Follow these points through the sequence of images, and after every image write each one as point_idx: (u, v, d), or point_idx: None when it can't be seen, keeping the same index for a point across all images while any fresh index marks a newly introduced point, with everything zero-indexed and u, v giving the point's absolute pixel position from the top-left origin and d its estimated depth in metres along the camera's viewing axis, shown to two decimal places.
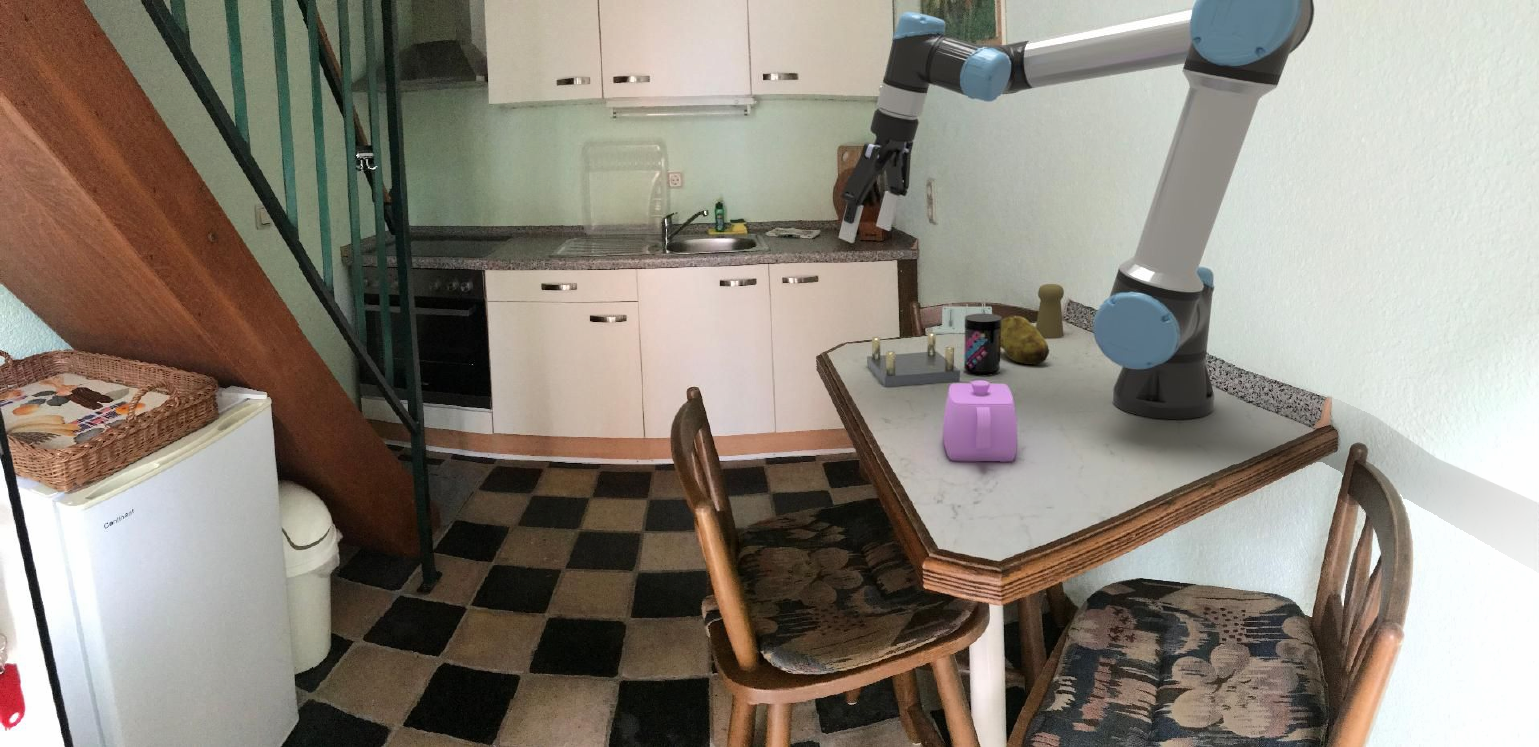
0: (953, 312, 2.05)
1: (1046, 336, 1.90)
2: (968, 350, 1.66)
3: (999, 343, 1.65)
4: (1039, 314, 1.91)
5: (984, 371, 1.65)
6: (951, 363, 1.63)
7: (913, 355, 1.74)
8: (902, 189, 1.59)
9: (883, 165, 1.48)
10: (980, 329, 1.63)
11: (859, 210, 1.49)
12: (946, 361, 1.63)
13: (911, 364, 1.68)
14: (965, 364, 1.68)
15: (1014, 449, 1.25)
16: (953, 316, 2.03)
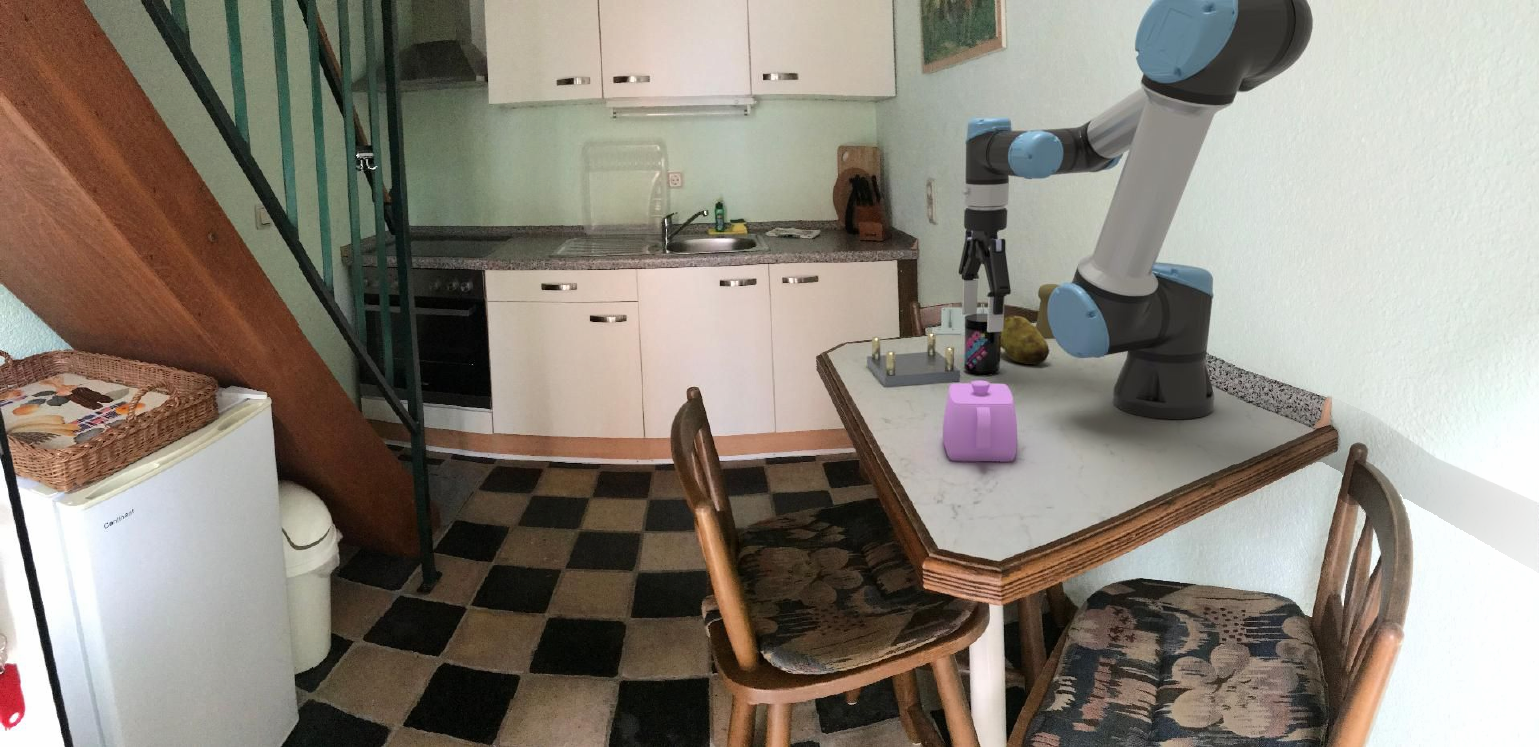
0: (952, 313, 2.04)
1: (1046, 336, 1.90)
2: (968, 350, 1.66)
3: (999, 343, 1.65)
4: (1039, 314, 1.91)
5: (984, 371, 1.65)
6: (951, 363, 1.63)
7: (913, 355, 1.74)
8: None
9: None
10: (980, 329, 1.63)
11: (1003, 299, 1.58)
12: (946, 361, 1.63)
13: (911, 364, 1.68)
14: (965, 364, 1.68)
15: (1014, 449, 1.25)
16: (952, 317, 2.02)
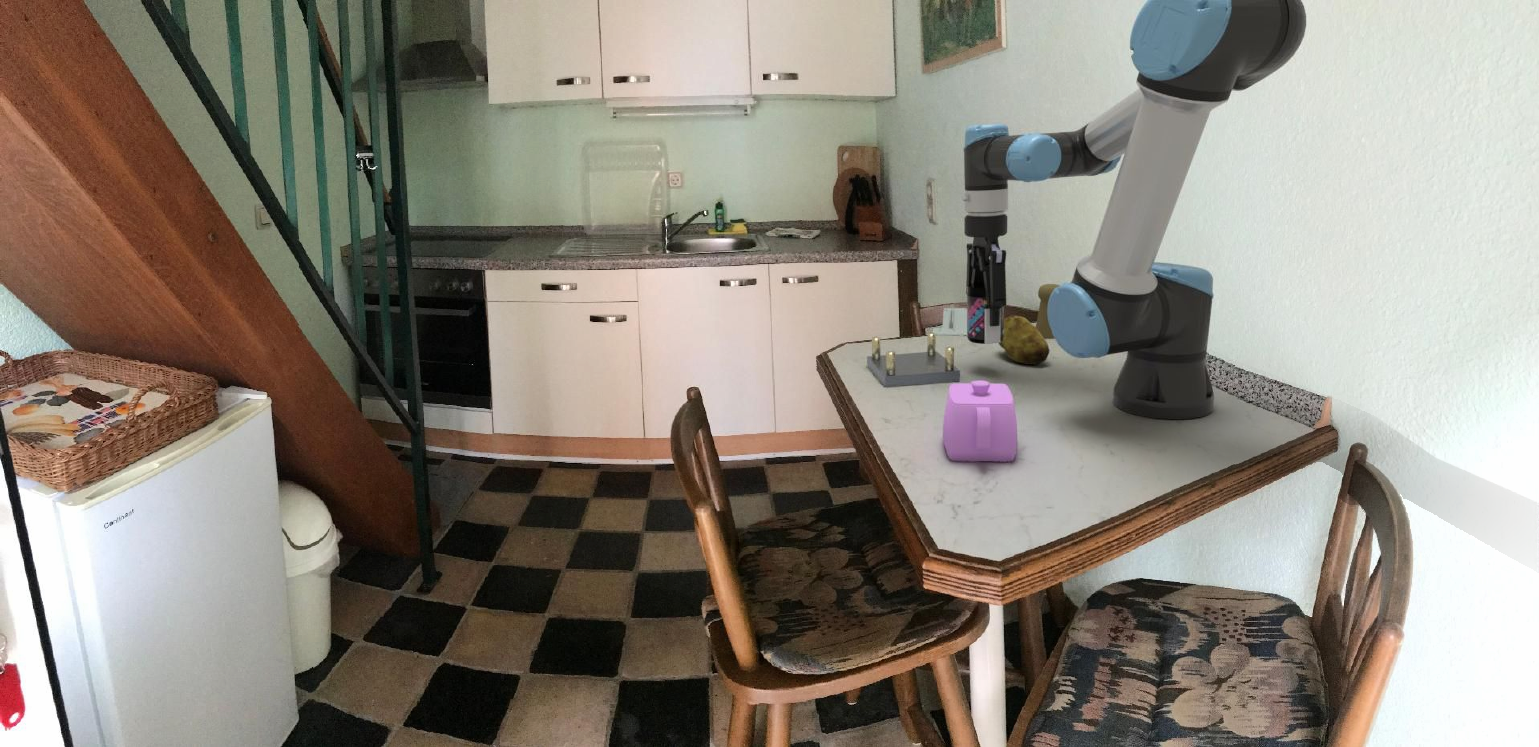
0: (954, 314, 2.03)
1: (1046, 336, 1.90)
2: (971, 318, 1.64)
3: (1002, 310, 1.63)
4: (1039, 314, 1.91)
5: None
6: (951, 363, 1.63)
7: (913, 355, 1.74)
8: None
9: None
10: (983, 296, 1.61)
11: (999, 311, 1.61)
12: (946, 361, 1.63)
13: (911, 364, 1.68)
14: (968, 333, 1.65)
15: (1014, 449, 1.25)
16: (954, 318, 2.02)
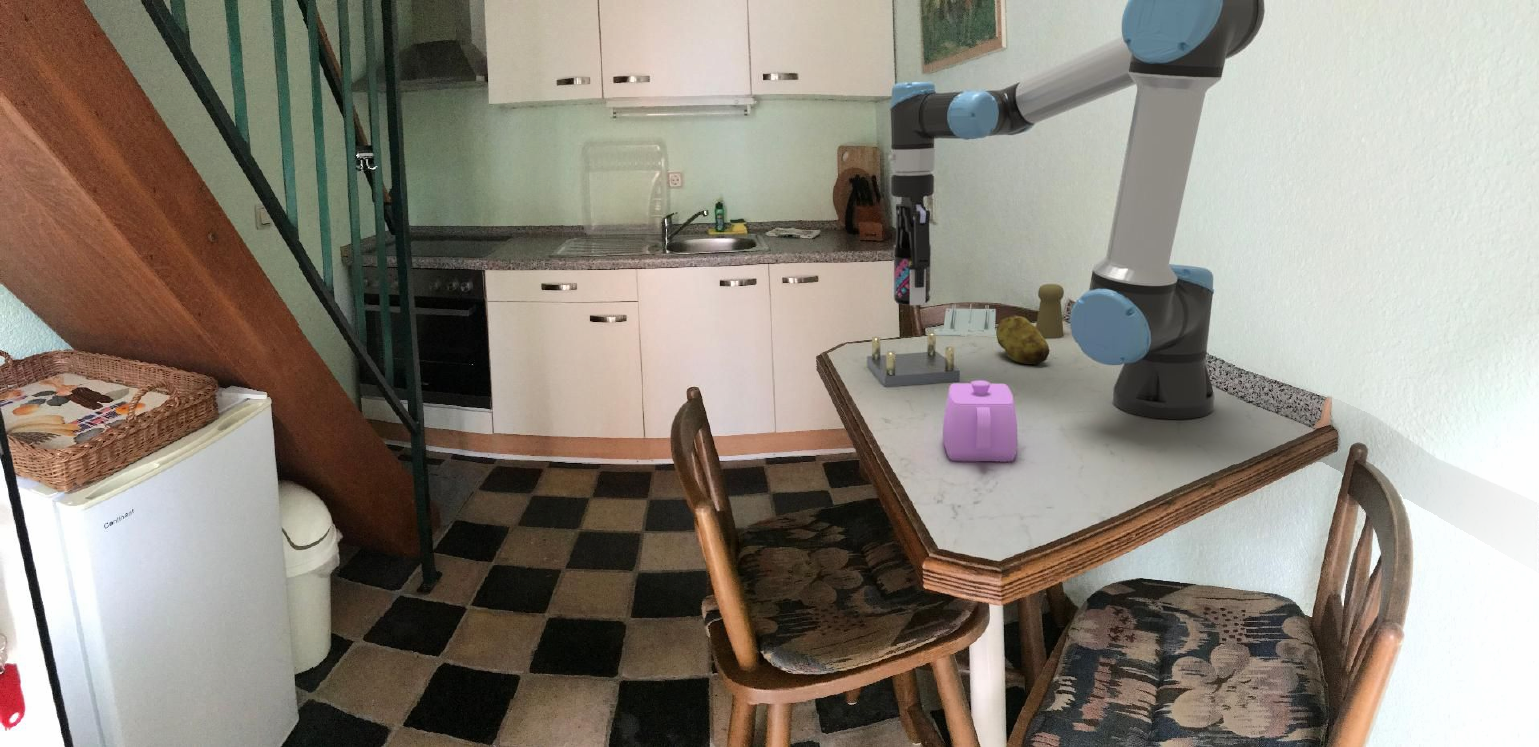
0: (956, 314, 2.03)
1: (1046, 336, 1.90)
2: (897, 278, 1.63)
3: (928, 272, 1.62)
4: (1039, 314, 1.91)
5: None
6: (951, 363, 1.63)
7: (913, 355, 1.74)
8: None
9: None
10: (908, 256, 1.60)
11: (924, 273, 1.60)
12: (946, 361, 1.63)
13: (911, 364, 1.68)
14: (894, 294, 1.64)
15: (1014, 449, 1.25)
16: (956, 318, 2.01)
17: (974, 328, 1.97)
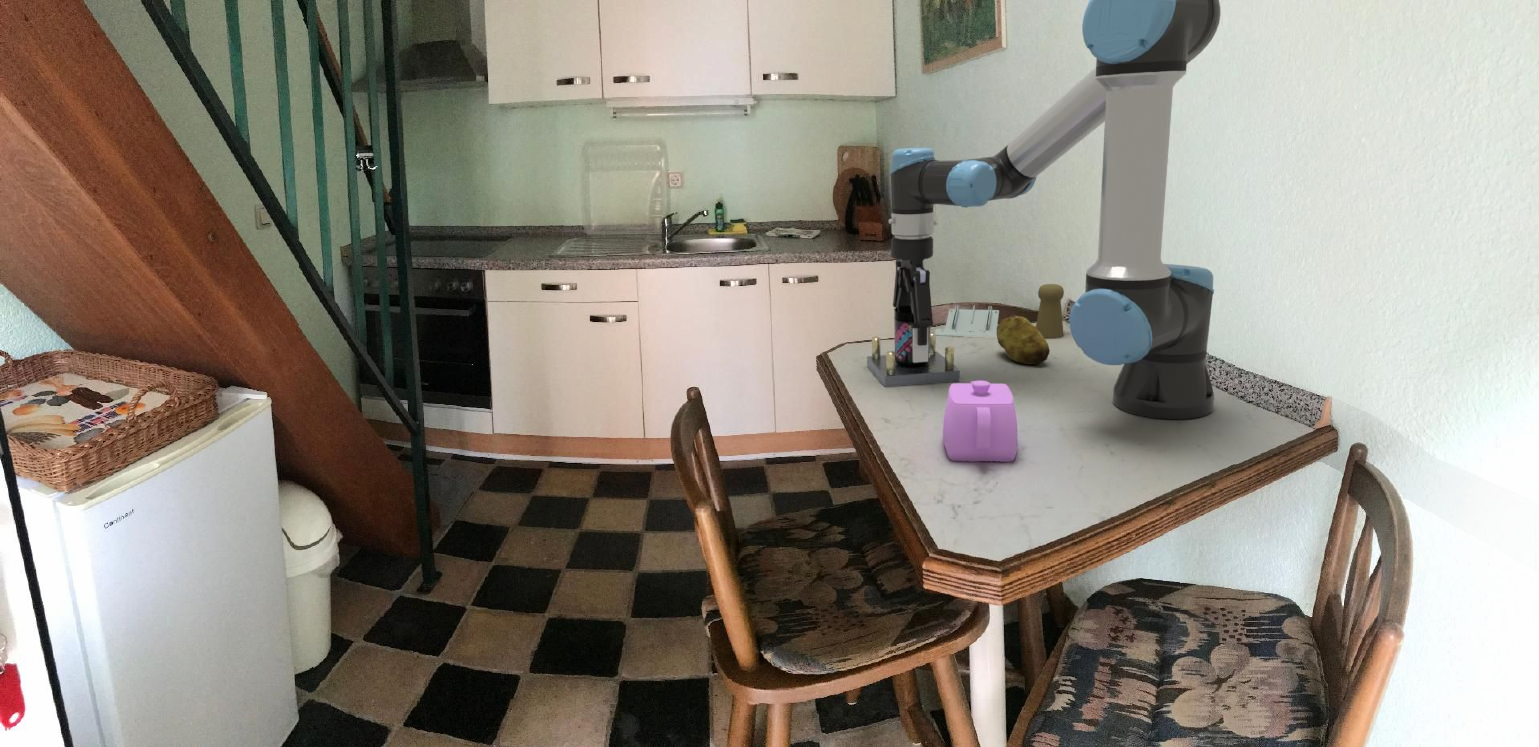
0: (959, 315, 2.02)
1: (1046, 336, 1.90)
2: (897, 341, 1.66)
3: (928, 335, 1.65)
4: (1039, 314, 1.91)
5: (913, 363, 1.65)
6: (951, 363, 1.63)
7: None
8: None
9: None
10: (908, 321, 1.63)
11: (927, 330, 1.61)
12: (946, 361, 1.63)
13: None
14: (895, 356, 1.68)
15: (1014, 449, 1.25)
16: (958, 319, 2.00)
17: (976, 329, 1.96)
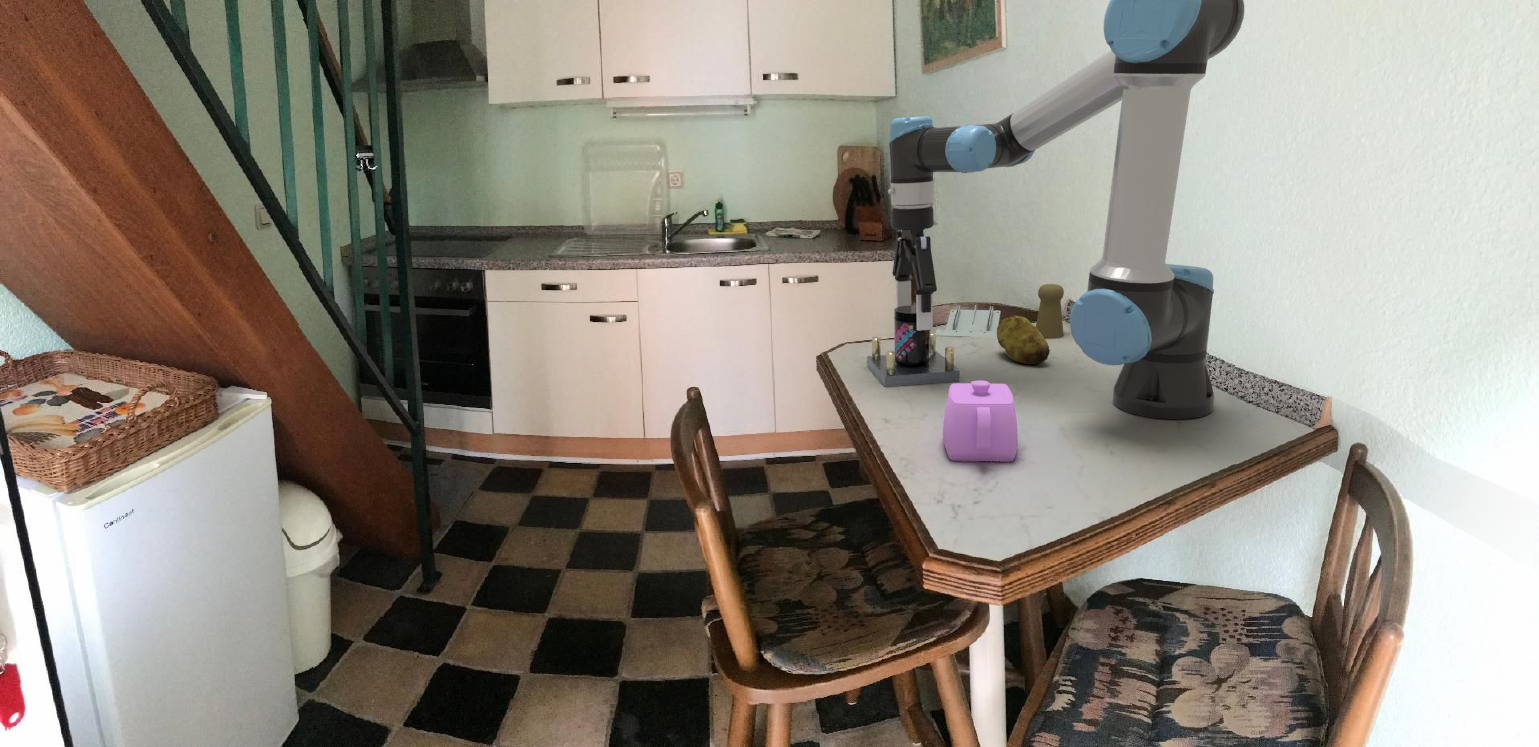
0: (960, 315, 2.02)
1: (1046, 336, 1.90)
2: (897, 341, 1.66)
3: (928, 335, 1.65)
4: (1039, 314, 1.91)
5: (913, 363, 1.65)
6: (951, 363, 1.63)
7: None
8: None
9: None
10: (908, 321, 1.63)
11: (931, 297, 1.58)
12: (946, 361, 1.63)
13: None
14: (895, 356, 1.68)
15: (1014, 449, 1.25)
16: (959, 319, 2.00)
17: (976, 329, 1.95)
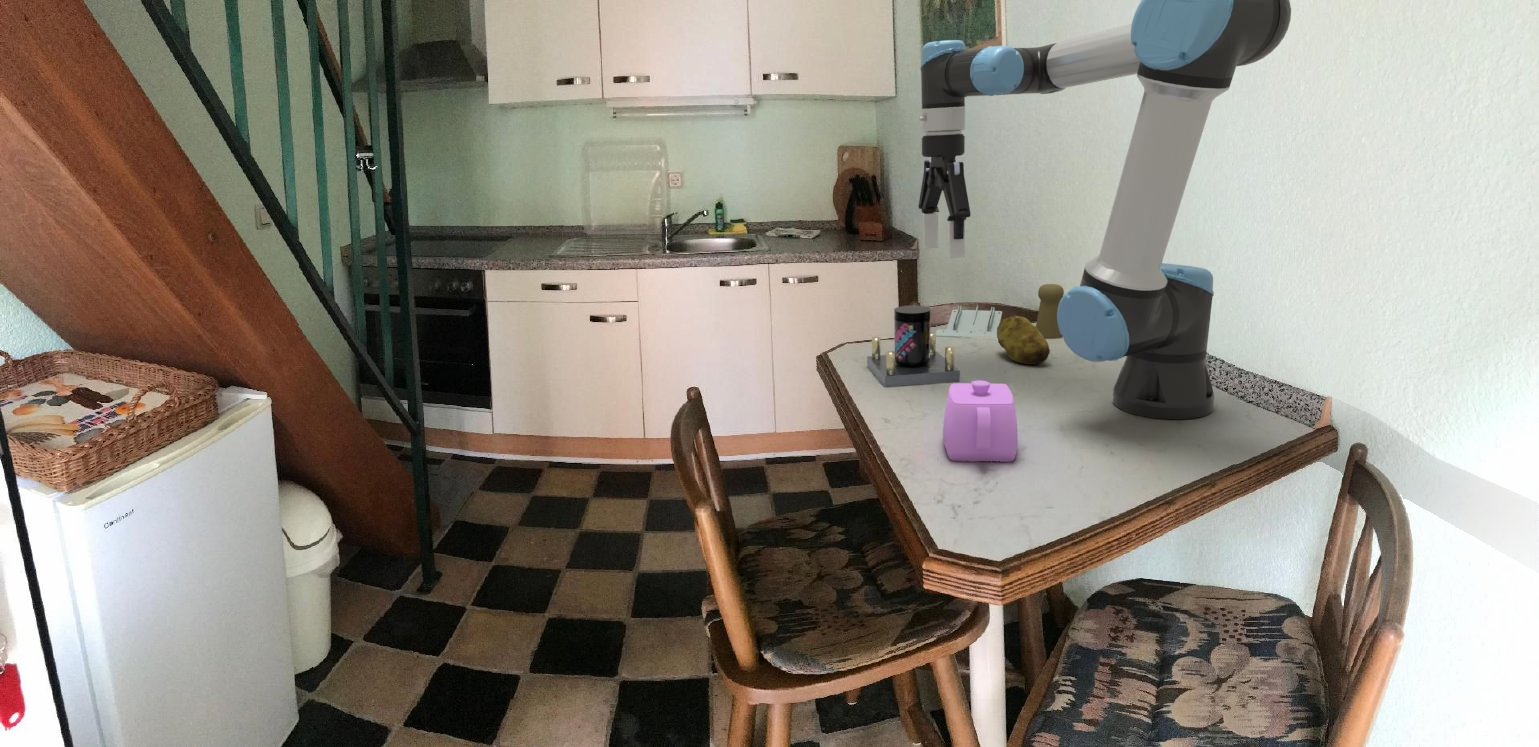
0: (962, 315, 2.01)
1: (1046, 336, 1.90)
2: (897, 341, 1.66)
3: (928, 335, 1.65)
4: (1039, 314, 1.91)
5: (913, 363, 1.65)
6: (951, 363, 1.63)
7: None
8: None
9: None
10: (908, 321, 1.63)
11: (963, 224, 1.57)
12: (946, 361, 1.63)
13: None
14: (895, 356, 1.68)
15: (1014, 449, 1.25)
16: (960, 319, 2.00)
17: (977, 330, 1.95)
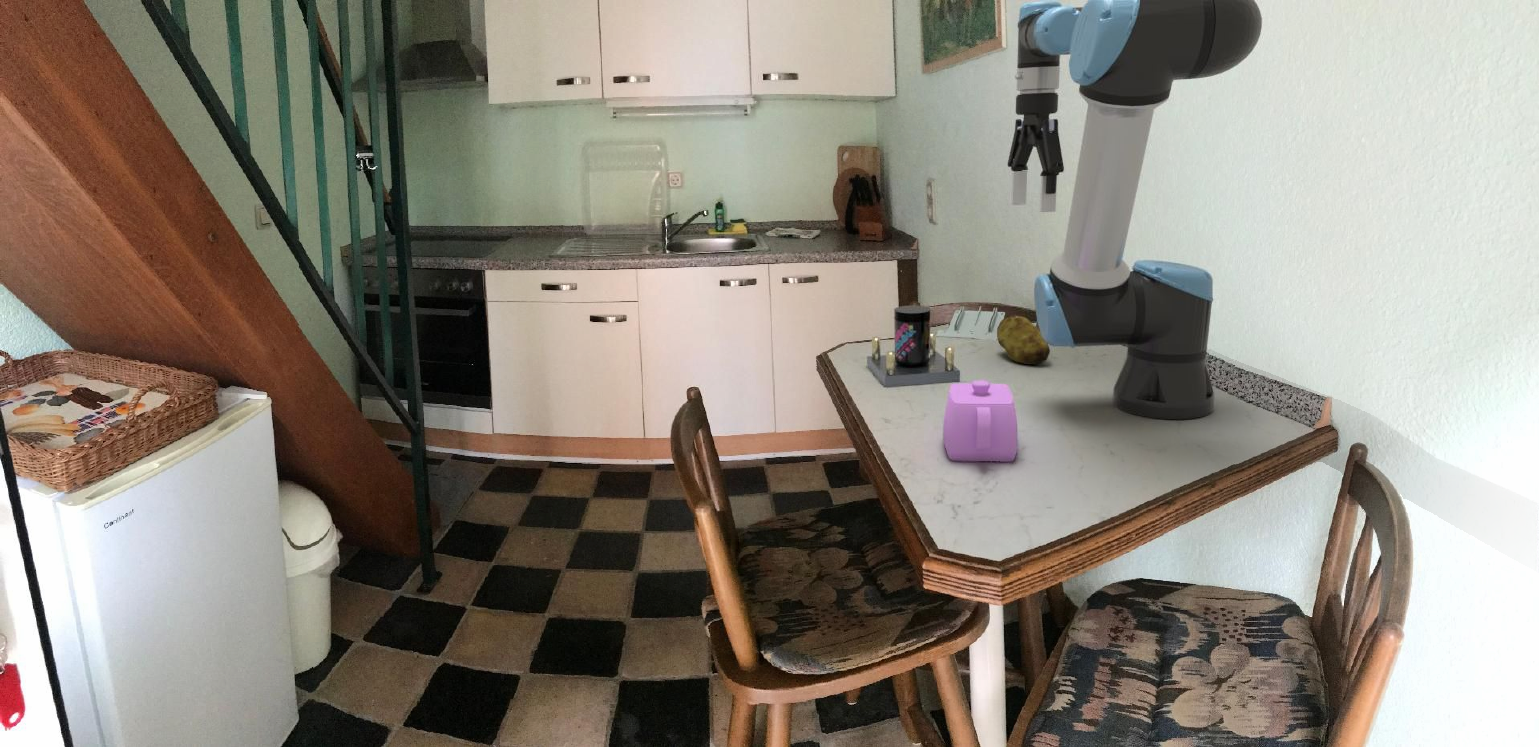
0: (964, 316, 2.01)
1: None
2: (897, 341, 1.66)
3: (928, 335, 1.65)
4: None
5: (913, 363, 1.65)
6: (951, 363, 1.63)
7: None
8: None
9: None
10: (908, 321, 1.63)
11: (1056, 179, 1.63)
12: (946, 361, 1.63)
13: None
14: (895, 356, 1.68)
15: (1014, 449, 1.25)
16: (962, 320, 1.99)
17: None
